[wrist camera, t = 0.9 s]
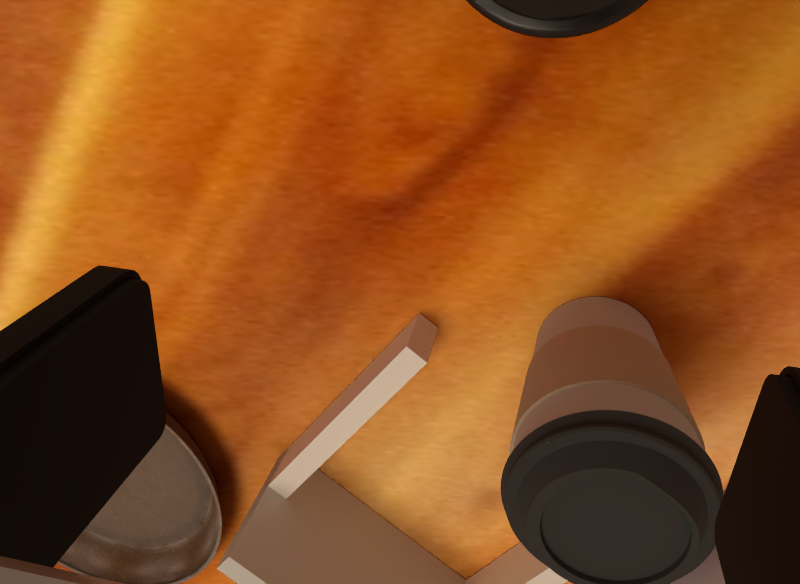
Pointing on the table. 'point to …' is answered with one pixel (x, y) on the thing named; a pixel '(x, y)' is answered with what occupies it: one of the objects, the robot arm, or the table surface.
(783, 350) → the table surface
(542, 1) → the drinking cup
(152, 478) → the plant saucer
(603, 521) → the coffee cup
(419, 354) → the box
